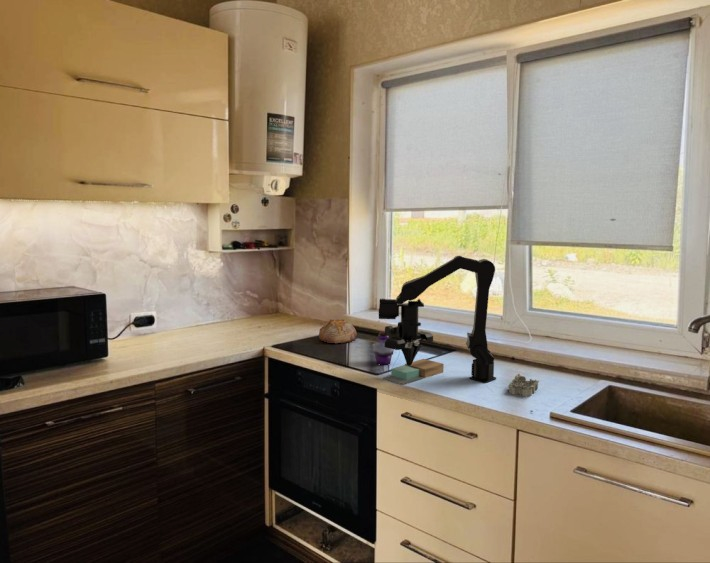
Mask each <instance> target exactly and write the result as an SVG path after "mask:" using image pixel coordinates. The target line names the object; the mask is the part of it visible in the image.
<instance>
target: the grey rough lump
mask: <svg viewBox="0 0 710 563" xmlns="http://www.w3.org/2000/svg"><path fill="white" fill-rule="evenodd" d="M539 382H540V380H537V379H534V380H533V379H532V378H529V380H527V378H526V376H524V375H520V373H517V374H516V375H515V376H514V378H513V379H512V381H511V382H509V384H508V386H507V387H509V393H510V392H511V393H510V394H511V395H520V396H521V395H522V397H532V394H535V393H536V391H538V390H539V384H540V383H539ZM537 389H538V390H537ZM534 392H535V393H534Z"/></svg>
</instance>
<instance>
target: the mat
mask: <svg viewBox="0 0 710 563" xmlns="http://www.w3.org/2000/svg"><path fill="white" fill-rule="evenodd" d="M422 379H424V378H423V377H420V376H419V377H416V378H412V379H409V380H405V379H401V378H398V377H395V376H391V375H388V376H384V377H382V380H385V381H388V382H392V383H395V384H398V385H402V386H403V385H404V386H405V385H407V383H408V384H410V382H411V383H414V382H417V381H420V380H422ZM413 381H414V382H413Z"/></svg>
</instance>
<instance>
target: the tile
mask: <svg viewBox="0 0 710 563" xmlns="http://www.w3.org/2000/svg"><path fill="white" fill-rule="evenodd" d="M390 373H391V376H395V377H398V378H401V379H405V380H409V379H412V378H416V377H419V369H415V368H411V367H408V366H405V364H404V365H399V366H397V367H392V368H391V372H390Z"/></svg>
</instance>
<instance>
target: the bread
mask: <svg viewBox="0 0 710 563" xmlns="http://www.w3.org/2000/svg"><path fill="white" fill-rule="evenodd" d="M318 332H319V333H318V339H319V340H320V342H322V341H324V342H327V343H326V344H328V343H335V344H334V345H339V344H338V343H341V344H346V342H347V343H353V342H352V341H354V342H355V340H357V338H358V335H357V334H358V333H357V330H356V329H355V327H354V326H353V324H352V323H349V322H348V321H346V320H345V319H330V320H329V321H328V322H326V323H325V324H324V325H323V326H321V328H320V329H319V331H318ZM324 342H323V343H324Z"/></svg>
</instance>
